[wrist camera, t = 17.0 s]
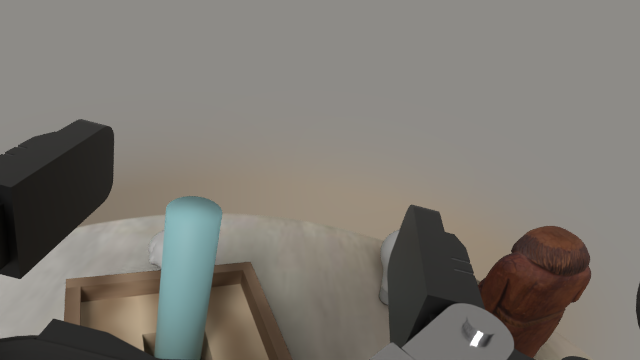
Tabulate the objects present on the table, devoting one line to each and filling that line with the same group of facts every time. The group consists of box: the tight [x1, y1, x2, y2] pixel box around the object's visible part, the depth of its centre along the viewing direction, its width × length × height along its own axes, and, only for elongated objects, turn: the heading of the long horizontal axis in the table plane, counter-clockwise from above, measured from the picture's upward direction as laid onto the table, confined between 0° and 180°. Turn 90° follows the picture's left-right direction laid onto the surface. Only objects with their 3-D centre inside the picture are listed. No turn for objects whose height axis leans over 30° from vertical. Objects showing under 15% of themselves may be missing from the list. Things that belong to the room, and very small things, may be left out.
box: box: [64, 262, 292, 360], centre depth 41 cm, size 18×18×6 cm
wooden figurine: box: [478, 226, 591, 358], centre depth 51 cm, size 12×6×18 cm, turn 115°
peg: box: [154, 196, 222, 360], centre depth 38 cm, size 4×4×19 cm
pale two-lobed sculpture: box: [148, 230, 164, 268], centre depth 54 cm, size 4×8×5 cm
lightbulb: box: [379, 230, 399, 305], centre depth 56 cm, size 6×6×11 cm
